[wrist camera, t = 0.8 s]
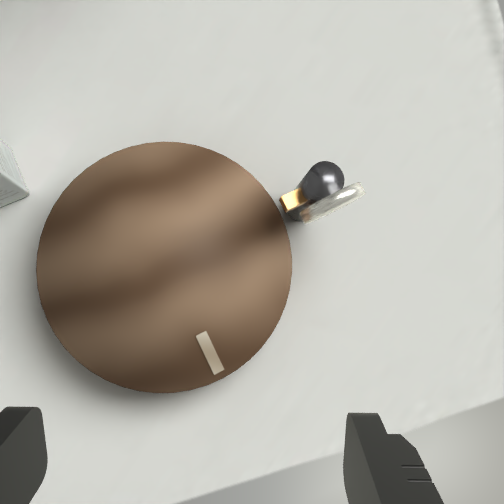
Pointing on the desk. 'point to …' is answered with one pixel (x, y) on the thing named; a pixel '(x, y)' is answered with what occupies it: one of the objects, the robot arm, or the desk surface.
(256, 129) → the desk surface
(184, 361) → the turntable
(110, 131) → the desk surface
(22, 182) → the skincare box
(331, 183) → the post with glass disc
